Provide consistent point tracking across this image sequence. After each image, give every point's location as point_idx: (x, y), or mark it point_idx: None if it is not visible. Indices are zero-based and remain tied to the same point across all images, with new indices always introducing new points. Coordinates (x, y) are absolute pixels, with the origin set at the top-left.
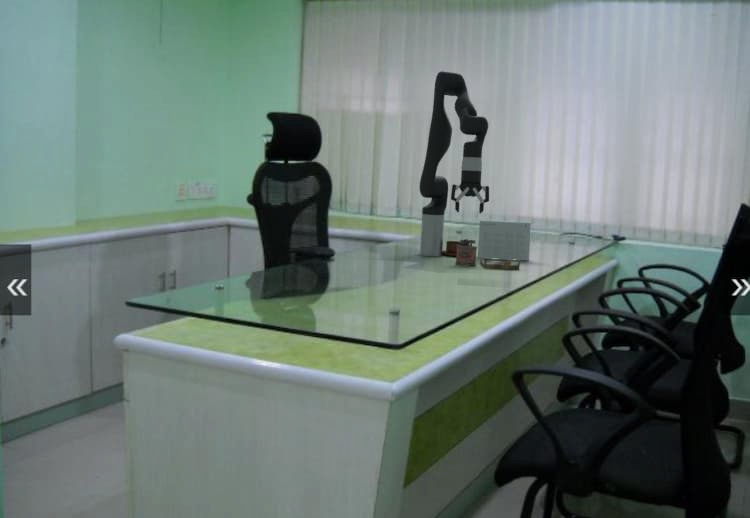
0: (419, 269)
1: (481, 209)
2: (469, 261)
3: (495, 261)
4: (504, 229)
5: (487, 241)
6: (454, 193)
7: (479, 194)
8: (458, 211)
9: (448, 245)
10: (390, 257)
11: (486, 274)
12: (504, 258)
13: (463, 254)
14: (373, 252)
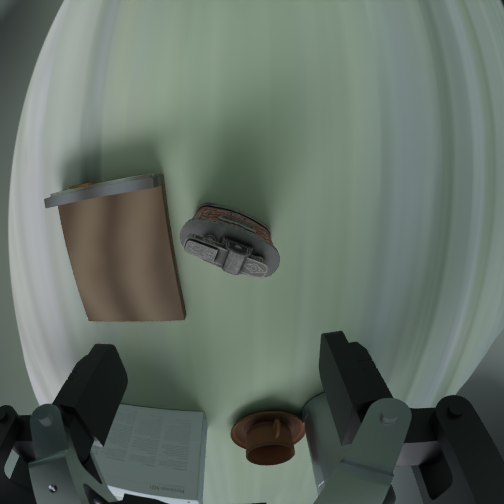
0: (384, 40)
1: (85, 361)
2: (218, 210)
3: (117, 179)
4: (124, 470)
5: (176, 447)
6: (473, 471)
7: (37, 491)
8: (328, 334)
9: (289, 439)
10: (442, 316)
11: (167, 5)
12: (137, 408)
13: (243, 222)
14: (445, 382)
